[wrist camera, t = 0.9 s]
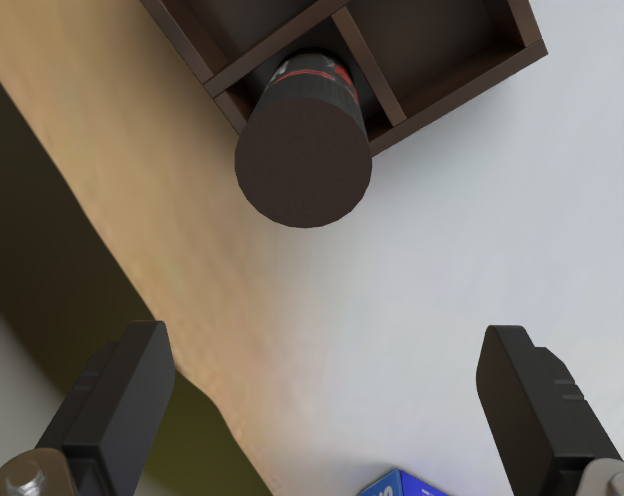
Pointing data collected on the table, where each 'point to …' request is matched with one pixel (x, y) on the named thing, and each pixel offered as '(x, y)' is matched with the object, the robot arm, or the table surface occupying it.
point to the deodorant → (305, 143)
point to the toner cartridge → (400, 486)
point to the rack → (356, 51)
